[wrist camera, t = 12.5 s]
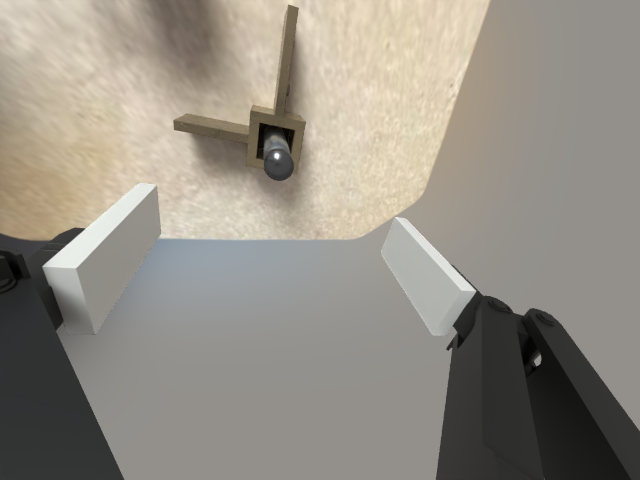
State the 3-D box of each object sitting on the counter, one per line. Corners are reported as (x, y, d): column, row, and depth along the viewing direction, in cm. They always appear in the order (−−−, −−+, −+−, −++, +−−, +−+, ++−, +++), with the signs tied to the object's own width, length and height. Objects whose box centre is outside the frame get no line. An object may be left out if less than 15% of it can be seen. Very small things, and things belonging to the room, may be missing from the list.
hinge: (187, 142, 36) (175, 154, 31) (183, -17, 28) (165, -37, 23) (292, 161, 40) (296, 174, 35) (315, 25, 32) (324, 16, 27)
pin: (262, 143, 38) (262, 178, 25) (265, 122, 36) (265, 148, 24) (282, 147, 38) (291, 182, 26) (285, 127, 37) (296, 153, 24)
